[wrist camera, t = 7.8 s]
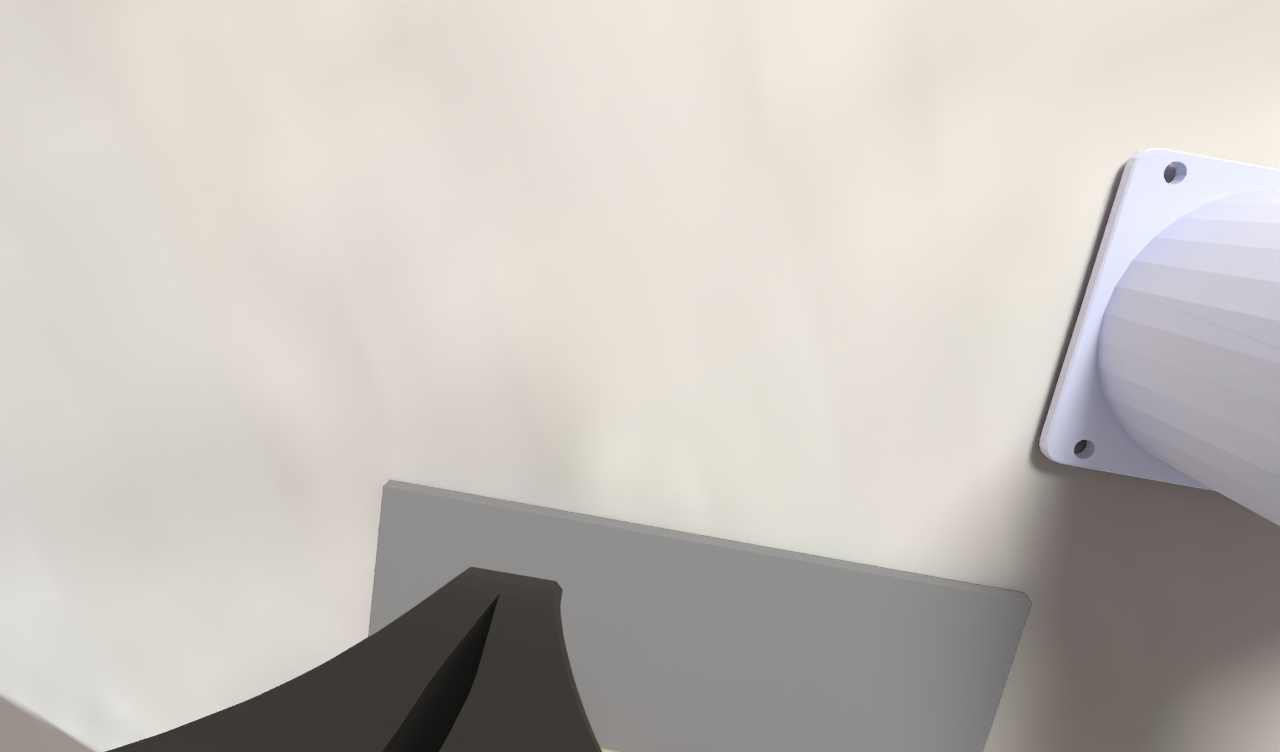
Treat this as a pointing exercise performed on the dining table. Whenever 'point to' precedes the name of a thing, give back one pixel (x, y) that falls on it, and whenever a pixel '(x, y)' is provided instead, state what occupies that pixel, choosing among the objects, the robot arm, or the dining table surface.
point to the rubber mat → (722, 630)
